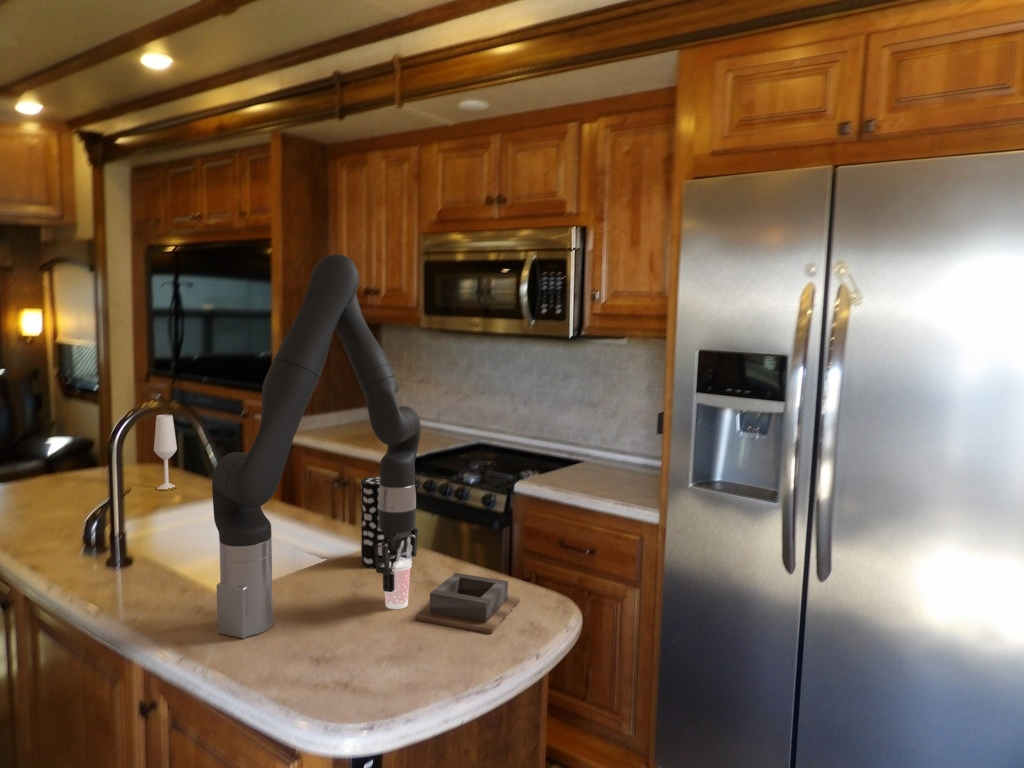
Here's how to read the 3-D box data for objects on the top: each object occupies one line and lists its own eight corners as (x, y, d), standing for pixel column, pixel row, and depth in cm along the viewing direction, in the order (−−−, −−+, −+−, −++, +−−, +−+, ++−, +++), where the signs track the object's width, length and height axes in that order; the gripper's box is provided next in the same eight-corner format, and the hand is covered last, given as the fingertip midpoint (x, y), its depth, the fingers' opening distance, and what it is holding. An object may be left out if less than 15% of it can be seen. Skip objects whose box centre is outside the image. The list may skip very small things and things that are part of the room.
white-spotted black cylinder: (362, 569, 169) (362, 485, 167) (360, 557, 177) (360, 477, 175) (398, 567, 171) (398, 483, 169) (394, 555, 179) (394, 475, 177)
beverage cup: (379, 600, 152) (379, 535, 150) (408, 597, 154) (408, 532, 152) (384, 612, 146) (384, 544, 144) (414, 608, 148) (415, 541, 147)
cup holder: (491, 634, 137) (492, 608, 137) (415, 619, 143) (416, 595, 142) (520, 602, 152) (520, 579, 152) (450, 590, 158) (450, 568, 157)
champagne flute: (155, 491, 233) (153, 417, 230) (154, 487, 239) (152, 414, 236) (178, 489, 236) (176, 416, 234) (177, 485, 242) (175, 413, 239)
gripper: (395, 517, 140) (395, 601, 141) (430, 499, 153) (429, 576, 155) (362, 512, 142) (362, 595, 144) (398, 495, 156) (398, 571, 157)
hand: (396, 585), depth 149 cm, fingers closed on beverage cup, 6 cm apart
